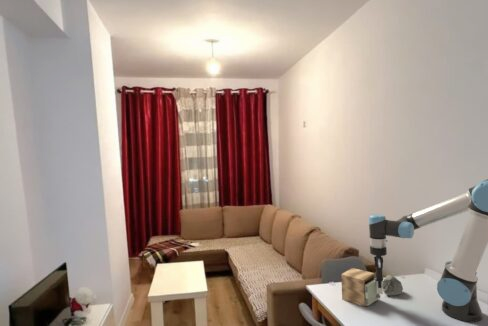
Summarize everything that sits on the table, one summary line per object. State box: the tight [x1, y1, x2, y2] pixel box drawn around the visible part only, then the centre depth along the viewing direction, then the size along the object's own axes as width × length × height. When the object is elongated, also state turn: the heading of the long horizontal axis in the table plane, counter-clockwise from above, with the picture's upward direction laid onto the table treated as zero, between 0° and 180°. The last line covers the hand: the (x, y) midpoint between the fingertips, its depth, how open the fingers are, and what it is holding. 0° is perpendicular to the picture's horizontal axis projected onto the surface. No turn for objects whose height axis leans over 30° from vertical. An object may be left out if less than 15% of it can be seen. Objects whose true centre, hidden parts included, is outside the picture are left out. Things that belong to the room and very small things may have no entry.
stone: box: [382, 274, 404, 296], centre depth 163 cm, size 10×10×10 cm
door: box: [365, 278, 381, 307], centre depth 152 cm, size 2×12×10 cm, turn 130°
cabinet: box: [340, 267, 376, 307], centre depth 158 cm, size 12×12×13 cm
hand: (379, 293), depth 152 cm, fingers closed
